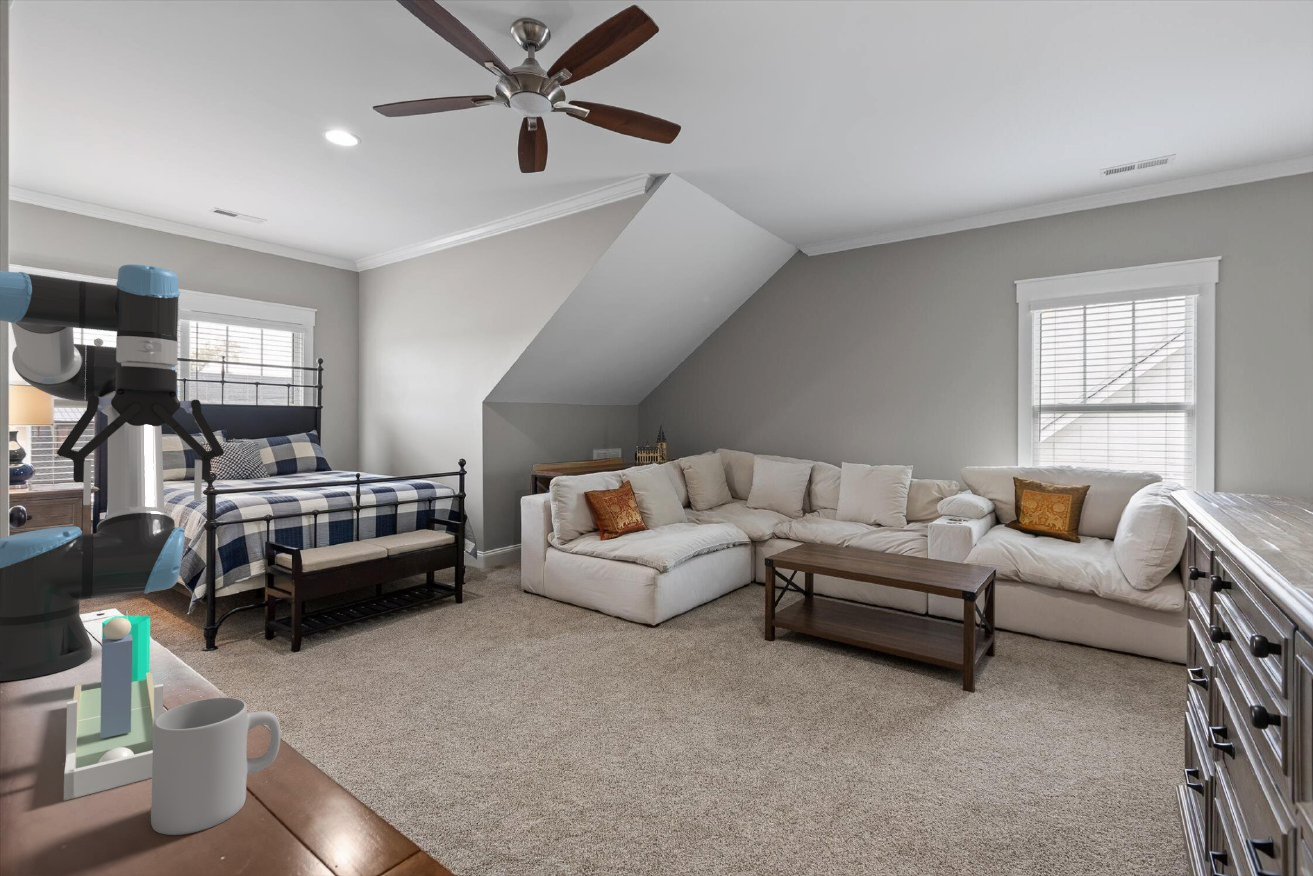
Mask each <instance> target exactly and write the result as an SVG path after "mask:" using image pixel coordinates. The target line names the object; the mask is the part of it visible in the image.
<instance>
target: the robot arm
mask: <svg viewBox="0 0 1313 876" xmlns="http://www.w3.org/2000/svg"><path fill="white" fill-rule="evenodd" d="M117 270H118V271H117V280H116V284H115V285H114V284H107V283H99V282H93V281H92V282H90V281H84V280H77V279H76V280H75V279H68V278H63V277H62V278H61V277H55V276H47V275H40V274H32V273H26V272H24V271H18V272H17V271H6V270H3V271H2V270H0V321H3V322H8V323H10V324H11V328H12V331H13V332H12V333H13V336H14V340H15V344H16V346H15V347H14V349H13V351H12V357H11V358H12V364H13V368H14V370H15V371H16V373H17V374H18V375H19V376H20V377H21V379H22V380H24V382H26V383H28V384H29V385H31V386H32V387H34V388H35V389H37V390H40V391H41V392H44V393H45V394H49V395H51V396H54V397H56V398H61V399H65V400H69V401H75V402H87V405H86V409H85V411H84V412H83V413H82V415H81V417H80V419H78V421H77V422H76V424H75V425H74V427H73V428H72V430H71V431H70V433H69V434H68V435H67V437H66V438H65V440H64V441H63V442H62V444H61V445H60V447H59V448H58V449H57V452H56V453H57V456H59V457H62V458H67V459H70V460H71V461H72V462H73V475H72V476H73V481H74V483H83V493H82V494H83V497H82V498H83V500H82V503H83V504H82V506H91V501H92V500H91V499H92V496H91V495H92V494H91V493H92V490H91V489H92V460H91V459H89V460H87V459H86V458H87V457H88V456H89V455H91V454H92V452H94V450H96V449H97V448H98V447H100V446H101V444H103V443H104V442H105V441H106V440H107V517H105V518H103V519H102V520H101V521H99V522H98V524H97V525H96V532H95V533H86V534H85V533H84V534H83V530H81V528H80V527H79V526H74V525H70V526H59V527H51V528H50V527H49V528H44V529H43V528H42V529H37V530H31V531H25V532H20V533H16V534H11V535H8V536H4V537H1V538H0V682H6V681H9V682H10V681H16V680H25V679H32V678H36V677H41V676H45V675H50V674H54V673H59V672H62V671H65V670H68V669H71V668H74V667H77V666H79V665H81V664H84V663H86V662H88V660H90V659H91V658H92V656H93V651H92V649H93V648H92V647H93V644H92V641H91V639H90V636H89V634H88V632H87V629H86V627H85V625H84V623H83V620H82V618H81V615H80V601H83V600H91V599H92V600H93V599H101V598H109V597H110V598H111V597H117V596H118V597H119V596H128V595H138V594H149V593H151V592H159V591H163V590H164V591H165V590H169V589H171V588H173V587H175V585H176V584H177V583H178V579H179V576H180V571H181V565H182V559H183V553H184V546H185V545H184V544H185V531H186V530H185V528H183V527H180V526H178V527H175V525H176V524H175V519H174V517H172V516H171V515H169V514H168V513H165V490H164V488H165V487H164V484H165V483H164V467H163V466H164V462H163V435H162V434H163V432H162V426H163V425H165V424H166V425H167V426H168V427H169V429H171V430H172V431H173V432H174V433H175V434H176V435H177V436H178V437H179V438H180V439H182V441H183V442H184V443H185V444H187V446H189V447H190V448H191V450H192V451H194V452H195V454H197V456H198V457H199V458H200V459H194V479H193V481H194V485H193V487H194V490H193V491H194V493H193V499H194V500H195V501H202V489H203V487H202V486H203V485H202V483H203V480H209V479H210V476H211V460H213V459H215V458H216V457H221V456H223V455H224V453H225V451H224V449H223V448H222V446H221V444H220V442H219V441H218V439H217V438H216V435H215V434H214V432H213V430H212V428H211V427H210V425H209V423H208V422H207V420H206V418H205V417H204V415H203V411H202V405H201V404H202V403H201V401H200V400H199V399H192V400H181V401H180V400H179V399H178V395H179V392H178V389H179V388H178V387H179V386H178V372H176V368H175V367H177V365H178V321H179V296H180V295H181V291H180V290H179V289H180V288H179V277H178V275H177V274H176V273H175V272H174V271H171V270H169V269H167V268H166V269H165V268H161V267H156V266H151V265H144V264H124V265H121V266H120V267H119V268H118V269H117ZM74 329H85V330H97V331H106V332H107V331H108V332H116V339H115V341H116V342H115V343H116V345H115V346H114V347H113V346H103V345H91V344H90V345H89V344H80V343H74V341H75V340H74ZM180 408H182V409H184V411H185V412H186V413H187V414H191V416H192V418H193V419H194V422H195V424H196V426H197V427H198V429H199V431H201V434H202V436H203V437H204V439H205V440H206V443H207V444H208V446H209V447H210V449H211V450H206V449H205V447H203V445H201V444H200V443H199V442H198V441H197V440H196V439H195V438H194V437H193V436H192V435H191V434H190V433H189V432H188V431H187V430H186V429H185V428H184V427H183V426H182V425H181V424H180V423H179V422H178V421H177V420H176V419H175V418H174V417H173V415H175V413H177V411H179V409H180ZM98 411H100V412H101V413H103V414H104V415H105V416H107V426H106V427H105V428H104V429H102V430H101V431H100V432H98V434H97V435H96V436H94V437H93V438H92V439H91V440H89V442H87V443H86V444H85V445H84V446H83V447H81V448H80V449H79V450H78V451H77V450H74V449H73V448H74V446H75V445H76V443H77V442H78V441H79V439H80V438H81V436H82V434H84V432H85V431H86V429H87V428H88V426H89V425H90V423H91V422H92V420H93V419H94V417H95V416H96V414H97V412H98Z"/></svg>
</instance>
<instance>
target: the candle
mask: <svg viewBox="0 0 1313 876" xmlns="http://www.w3.org/2000/svg"><path fill="white" fill-rule="evenodd" d="M125 614H126V615H117V616H113V617H110V618H108V619H106V620H104V621H102V625H101V628H102V630H101V631H102V632H101V638H102V639H104V638H106V637H105V635H104V633H103V629H104V626H105V625H106V623H107V622H109V621H110V620H112V619H114V618H125V619H127V620H128V621H129V622H130V623H131V630H130V632H129V634H128V635H131V634H132V682H134V681H140V680H145V679H146V673H149V672H151V671H150V670H151V669H150V668H151V666H150V664H151V663H150V660H151V659H150V657H151V617H150V616H149V615H128V610H126V613H125ZM102 639H101V640H102Z"/></svg>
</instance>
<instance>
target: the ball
mask: <svg viewBox="0 0 1313 876" xmlns="http://www.w3.org/2000/svg"><path fill="white" fill-rule="evenodd" d="M131 755H134V753H133V752H132V751H131V750H130V749H128V748H125V747H118V748H114V749H112V750H110V751H108V752H106V753H105V754H104V755H103V756H102V757H101V758H100V760H99V762H98V763H101V762H106V761H110V760H114V759H118V758H122V757H126V756H131Z"/></svg>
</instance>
